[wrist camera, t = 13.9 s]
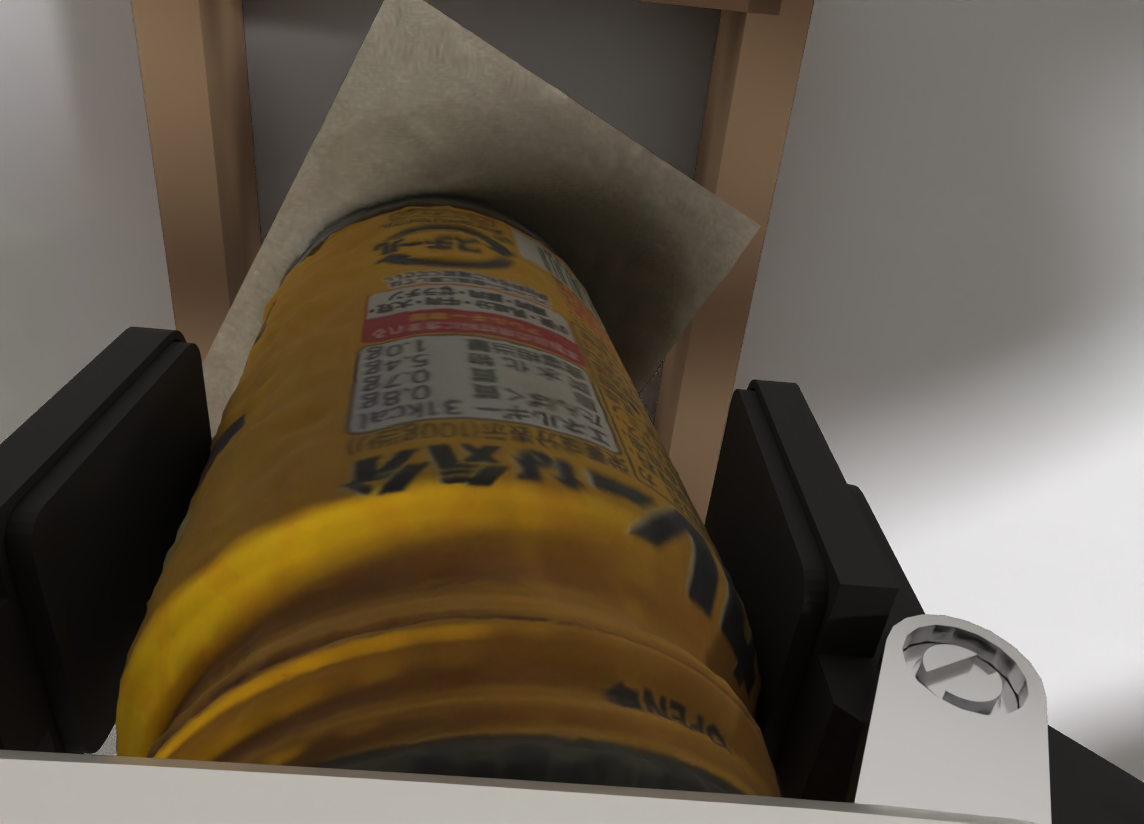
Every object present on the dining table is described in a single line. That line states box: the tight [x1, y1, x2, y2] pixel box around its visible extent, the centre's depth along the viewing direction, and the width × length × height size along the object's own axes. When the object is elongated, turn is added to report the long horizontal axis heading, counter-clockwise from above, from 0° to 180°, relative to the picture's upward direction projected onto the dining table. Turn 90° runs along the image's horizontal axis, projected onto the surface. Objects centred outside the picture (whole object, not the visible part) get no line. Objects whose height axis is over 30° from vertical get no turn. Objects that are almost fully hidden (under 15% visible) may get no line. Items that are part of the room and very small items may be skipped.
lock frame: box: [131, 0, 814, 524], centre depth 17 cm, size 24×12×12 cm, turn 174°
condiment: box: [116, 0, 781, 797], centre depth 10 cm, size 7×8×12 cm
